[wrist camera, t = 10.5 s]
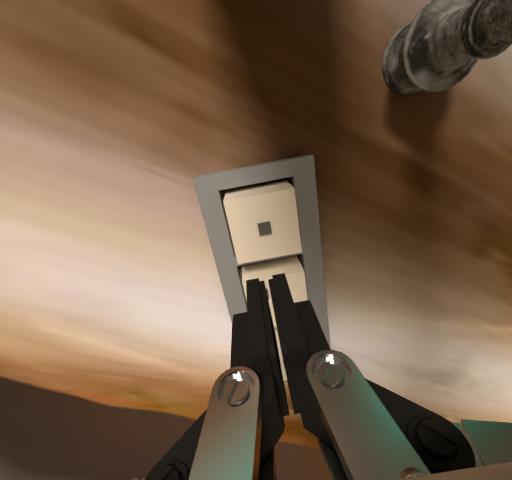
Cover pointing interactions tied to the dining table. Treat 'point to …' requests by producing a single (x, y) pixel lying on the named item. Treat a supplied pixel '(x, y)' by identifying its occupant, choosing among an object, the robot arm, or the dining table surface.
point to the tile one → (263, 221)
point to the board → (311, 258)
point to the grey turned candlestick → (446, 43)
